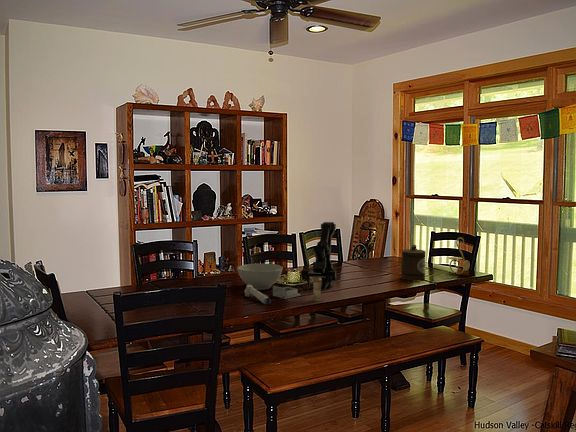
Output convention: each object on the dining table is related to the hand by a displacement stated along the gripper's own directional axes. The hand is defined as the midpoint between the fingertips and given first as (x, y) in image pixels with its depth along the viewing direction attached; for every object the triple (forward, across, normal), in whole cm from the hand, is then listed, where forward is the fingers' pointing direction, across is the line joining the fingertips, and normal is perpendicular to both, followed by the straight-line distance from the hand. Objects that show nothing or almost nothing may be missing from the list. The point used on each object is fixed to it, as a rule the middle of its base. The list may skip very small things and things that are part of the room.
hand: (316, 288), depth 269 cm
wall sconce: (-61, +79, +71) cm, 123 cm away
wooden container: (-46, +50, +55) cm, 87 cm away
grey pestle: (+8, -32, +2) cm, 33 cm away
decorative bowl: (-12, -38, +22) cm, 46 cm away
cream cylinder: (+4, 0, +6) cm, 7 cm away
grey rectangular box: (-1, -18, +10) cm, 21 cm away
